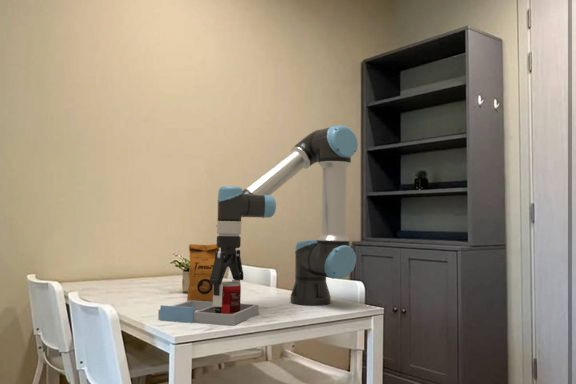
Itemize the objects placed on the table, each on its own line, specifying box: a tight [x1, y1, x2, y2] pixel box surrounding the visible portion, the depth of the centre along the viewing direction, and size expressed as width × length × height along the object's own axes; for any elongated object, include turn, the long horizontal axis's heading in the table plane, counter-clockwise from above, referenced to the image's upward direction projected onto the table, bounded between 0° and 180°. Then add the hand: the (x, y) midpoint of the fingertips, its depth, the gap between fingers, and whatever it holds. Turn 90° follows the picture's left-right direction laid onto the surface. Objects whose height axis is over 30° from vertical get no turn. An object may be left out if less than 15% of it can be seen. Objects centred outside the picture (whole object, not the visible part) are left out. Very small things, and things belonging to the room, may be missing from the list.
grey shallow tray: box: [157, 300, 259, 327], centre depth 164 cm, size 25×21×4 cm
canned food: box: [215, 280, 242, 314], centre depth 163 cm, size 8×8×11 cm
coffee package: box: [186, 243, 220, 302], centre depth 186 cm, size 10×12×22 cm
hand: (226, 303), depth 163 cm, fingers open, 13 cm apart
